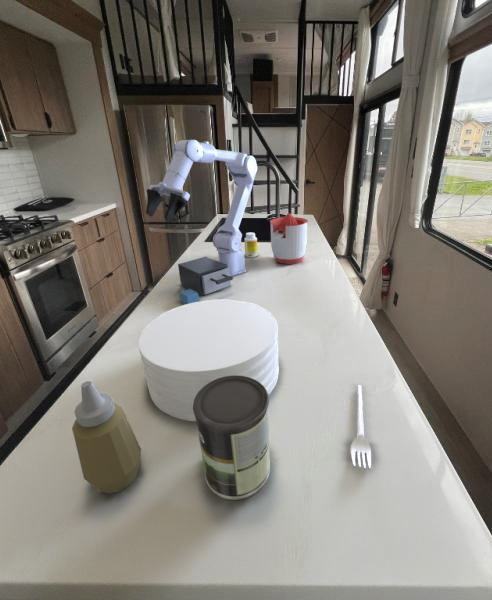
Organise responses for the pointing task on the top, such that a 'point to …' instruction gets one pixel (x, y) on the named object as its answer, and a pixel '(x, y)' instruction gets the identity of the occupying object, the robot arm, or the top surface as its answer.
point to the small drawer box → (197, 272)
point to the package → (189, 296)
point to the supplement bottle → (250, 245)
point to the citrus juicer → (288, 239)
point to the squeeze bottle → (105, 442)
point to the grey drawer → (216, 280)
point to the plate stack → (206, 350)
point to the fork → (360, 437)
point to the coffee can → (234, 435)
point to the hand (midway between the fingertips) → (158, 217)
